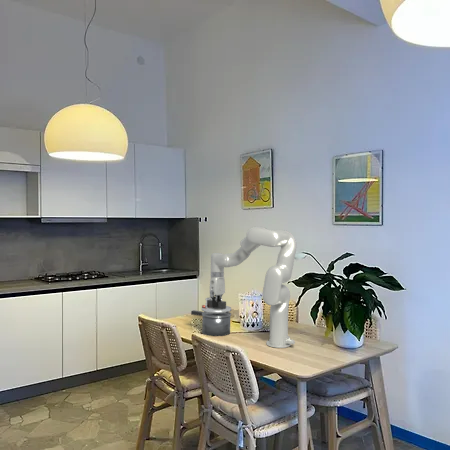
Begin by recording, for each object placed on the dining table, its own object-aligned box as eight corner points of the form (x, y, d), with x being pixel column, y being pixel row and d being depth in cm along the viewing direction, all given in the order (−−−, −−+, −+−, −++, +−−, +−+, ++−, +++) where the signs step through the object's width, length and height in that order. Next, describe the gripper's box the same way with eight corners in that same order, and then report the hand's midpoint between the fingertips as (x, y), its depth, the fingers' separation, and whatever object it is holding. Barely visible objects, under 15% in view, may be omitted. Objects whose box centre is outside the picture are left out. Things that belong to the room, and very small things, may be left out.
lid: (236, 309, 260) (236, 300, 259) (221, 314, 245) (221, 305, 245) (212, 305, 268) (212, 297, 268) (195, 310, 254) (195, 301, 254)
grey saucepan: (236, 331, 260) (236, 312, 260) (220, 338, 245) (221, 318, 245) (200, 325, 273) (200, 307, 273) (183, 331, 259) (183, 312, 259)
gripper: (214, 276, 247) (214, 309, 248) (230, 273, 261) (229, 305, 262) (203, 275, 251) (203, 308, 252) (219, 272, 265) (218, 303, 266)
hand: (216, 306), depth 257 cm, fingers closed on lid, 3 cm apart
